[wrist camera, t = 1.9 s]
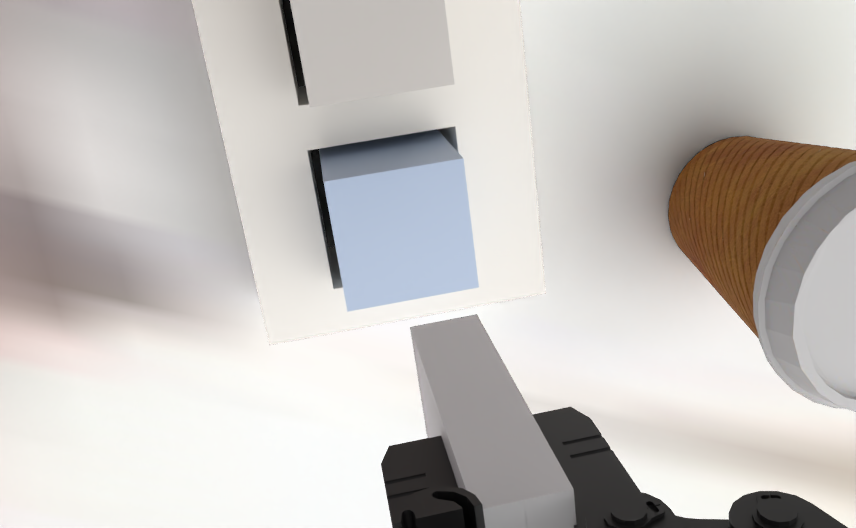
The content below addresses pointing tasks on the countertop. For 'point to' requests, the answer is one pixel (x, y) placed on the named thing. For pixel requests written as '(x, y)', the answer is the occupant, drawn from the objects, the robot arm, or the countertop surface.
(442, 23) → the key grey
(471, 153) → the keypad base
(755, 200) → the disposable coffee cup
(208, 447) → the countertop surface
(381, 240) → the key blue
